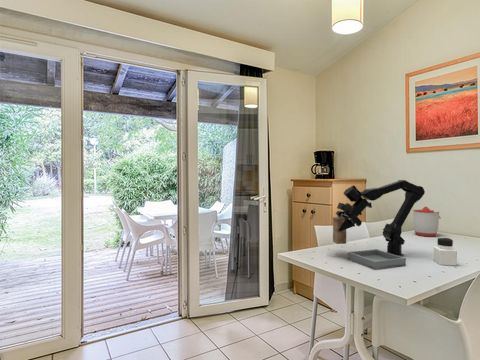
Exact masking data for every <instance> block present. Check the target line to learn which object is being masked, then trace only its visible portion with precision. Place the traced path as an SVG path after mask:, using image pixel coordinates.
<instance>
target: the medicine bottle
mask: <svg viewBox="0 0 480 360" xmlns="http://www.w3.org/2000/svg"><path fill="white" fill-rule="evenodd" d="M453 244H454V240H453V239H452V238H449V237H438V238H437V246H433V262H435V263H436V264H438V265H440V266H452V267H453V266H455V267H456V266H457V263H458V262H457V260H458V259H457V255H458V254H457V253H458V252H457V250H456V249H455V248H454V247H453V246H454V245H453Z"/></svg>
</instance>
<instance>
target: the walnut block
mask: <svg viewBox="0 0 480 360" xmlns="http://www.w3.org/2000/svg"><path fill="white" fill-rule="evenodd" d="M344 222H345V218H344V217H338V216H332V242H334V243H335V244H336V245H347V229H345V230H343V231H339V229H340V227H341V226H342V224H343V223H344Z"/></svg>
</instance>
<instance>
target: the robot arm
mask: <svg viewBox="0 0 480 360" xmlns="http://www.w3.org/2000/svg"><path fill="white" fill-rule="evenodd" d="M397 190H402V191H403V192H405V193H404V200H403V202H402V205H401V206H400V207H399V210H398V211H397V212H396V215H395V217H394V218H393V220H392V221H391V223H385V226H384V228H383V229H382V236H383V238H384V240H385V242H387V245H386V246H387V249H386V250H387V251H386V252H387V253H390V254H394V255H397V256H400V257H402V256H405V254H404V253H402V245H405V242H406V241H405V239H404V238H403V237H402V236H401V235H402V232H403V231H402V230H403V229H402V228H403V227H402V226H403V225H404V224H405V221H406V219H407V218H408V216H409V214H410V213H411V211H412V210H413V207H414V205H415V204H416V203H418V202H419V201H420V200H421V199H422V198H423V196H424V195H425V194H426V193H425V192H426V191H425V188H424V187H423V186H421V185H416V184H415V183H412V182H409V181H408V180H405V179H399V180H397V181H394V182H390V183H388V184H384V185H382V186H380V187H371V188H366V189H363V191H360V190H359V189H358V188H357V187H356V185H351V186H350V187H348V188H347V189H345V190H344V192H343V195H344V196H345V197H346V198H347V199H348V200H349V201H350V202H352V203H353V202H354V203H353V204H350V203H348V202H346V203H342V202H338V204H337V207H336V208H337V209H339V210H337V211H336V212H335V215H336V217H344V218H345V222H344V223H343V224H342V226H341V227H340V229H339V231H343V230H345V229H346V230H348V229H351V228H354V227H356V226H357V227H361V226H362V220H361V219H360V218H359V217H358V216H362V214H363V213H362V212H363V211H364V210H365V209H366V208H369V209H372V202H369V201H373V202H374V201H376V200H379V199H380V198H381V197H382V196H384V195H386V194H389V193H393V192H395V191H397Z"/></svg>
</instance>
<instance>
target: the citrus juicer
mask: <svg viewBox="0 0 480 360" xmlns="http://www.w3.org/2000/svg"><path fill="white" fill-rule="evenodd" d="M412 212H413V213H412V215H413V216H412V221H413V222H412V224H413V225H412V226H413V230H414V232H415V233H414V234H415V235H417V236H421V237H436V235H438V230H439V225H440V224H439V223H440V222H439V220H440V219H442V217H441V216H440V211H437V212H436V211H435V210H431V209H430V208H429V207H428V206H424V207H423V208H422V209H412Z"/></svg>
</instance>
